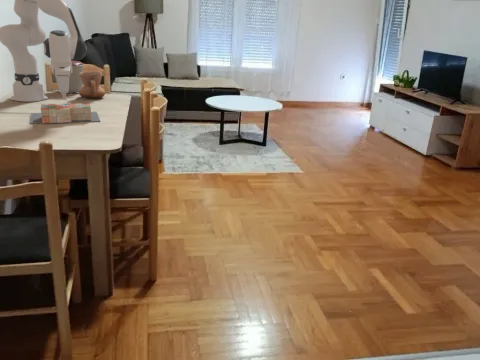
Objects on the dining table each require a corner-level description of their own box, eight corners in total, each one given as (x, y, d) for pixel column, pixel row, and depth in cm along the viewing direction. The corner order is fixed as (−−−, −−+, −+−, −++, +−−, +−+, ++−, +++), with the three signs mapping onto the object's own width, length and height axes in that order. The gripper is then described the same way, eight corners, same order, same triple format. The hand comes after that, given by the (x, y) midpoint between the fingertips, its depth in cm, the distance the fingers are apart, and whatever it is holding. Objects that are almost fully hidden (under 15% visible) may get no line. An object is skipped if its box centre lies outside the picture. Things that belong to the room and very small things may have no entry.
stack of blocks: (89, 103, 219) (91, 108, 208) (90, 115, 221) (92, 121, 211) (40, 103, 211) (40, 109, 201) (42, 117, 213) (41, 123, 203)
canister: (75, 88, 289) (73, 53, 281) (92, 92, 278) (90, 57, 271) (48, 91, 275) (45, 55, 268) (65, 95, 265) (62, 58, 258)
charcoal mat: (31, 114, 220) (31, 113, 219) (96, 112, 230) (96, 111, 230) (29, 124, 202) (29, 123, 202) (100, 121, 213) (100, 120, 213)
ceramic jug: (78, 95, 269) (76, 70, 264) (104, 94, 274) (102, 70, 269) (80, 101, 254) (78, 75, 248) (107, 101, 259) (105, 75, 253)
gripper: (54, 65, 214) (56, 95, 219) (54, 71, 196) (57, 103, 201) (68, 65, 216) (70, 95, 221) (70, 71, 198) (72, 103, 203)
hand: (64, 99), depth 211 cm, fingers closed
